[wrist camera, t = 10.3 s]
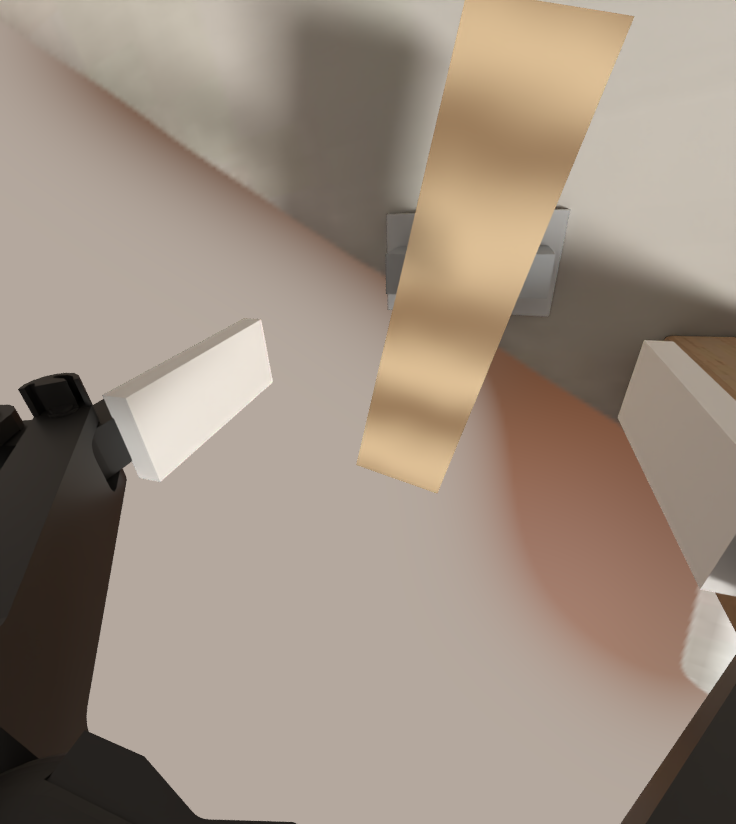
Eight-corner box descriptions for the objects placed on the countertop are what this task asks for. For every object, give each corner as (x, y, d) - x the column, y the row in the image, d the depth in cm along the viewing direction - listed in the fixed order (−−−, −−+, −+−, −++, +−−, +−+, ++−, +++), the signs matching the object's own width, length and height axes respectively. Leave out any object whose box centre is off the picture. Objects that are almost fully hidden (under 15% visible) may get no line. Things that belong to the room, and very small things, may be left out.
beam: (476, 39, 19) (467, -11, 14) (598, 61, 18) (634, 16, 13) (378, 422, 32) (356, 464, 27) (447, 445, 32) (437, 493, 27)
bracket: (388, 213, 33) (355, 222, 25) (569, 209, 29) (592, 217, 21) (389, 308, 37) (360, 339, 29) (548, 314, 33) (561, 352, 25)
